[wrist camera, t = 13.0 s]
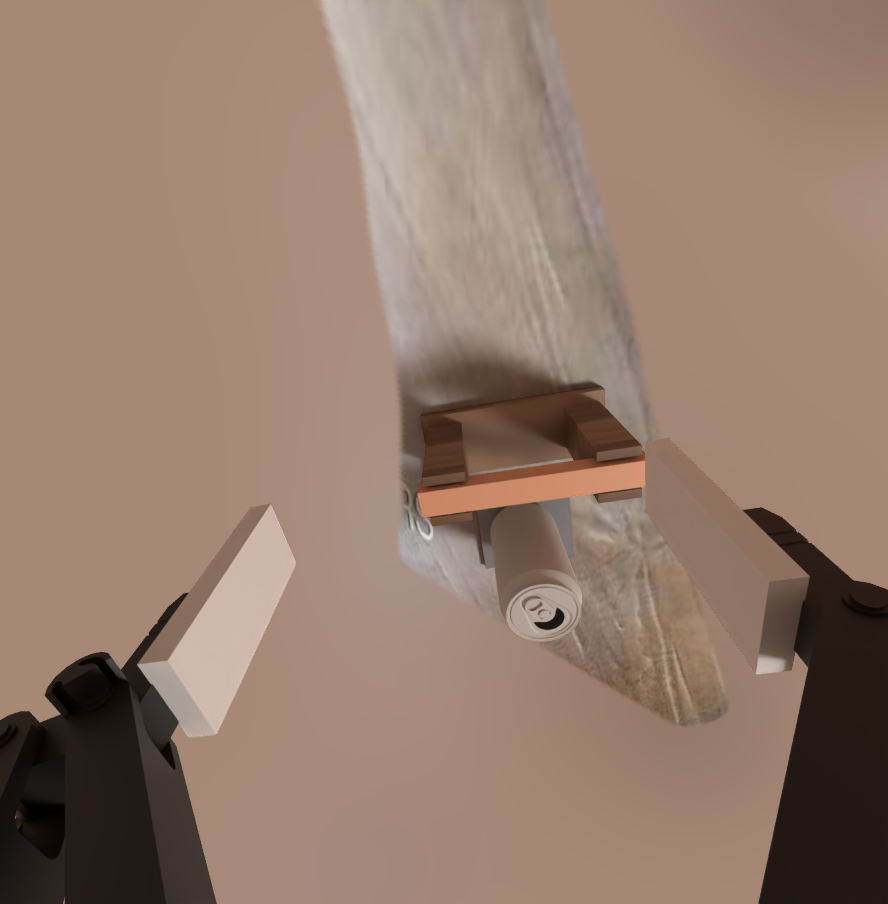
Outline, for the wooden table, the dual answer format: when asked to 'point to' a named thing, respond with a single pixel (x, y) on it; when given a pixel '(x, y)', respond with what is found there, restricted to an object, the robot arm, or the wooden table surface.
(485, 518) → the rubber mat
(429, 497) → the crossbar
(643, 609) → the wooden table surface
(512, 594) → the beverage can
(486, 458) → the walnut stand
